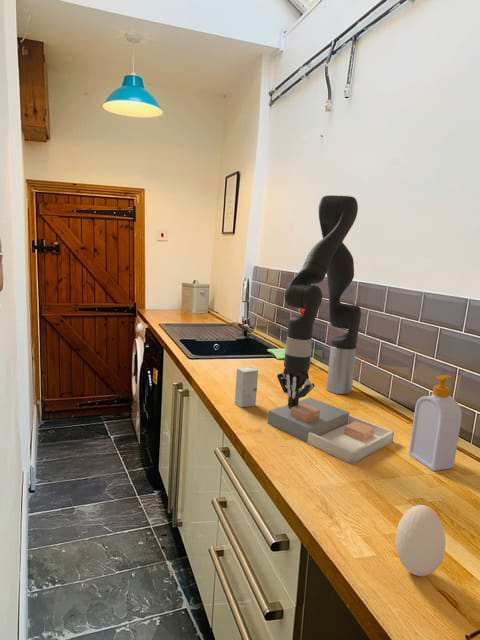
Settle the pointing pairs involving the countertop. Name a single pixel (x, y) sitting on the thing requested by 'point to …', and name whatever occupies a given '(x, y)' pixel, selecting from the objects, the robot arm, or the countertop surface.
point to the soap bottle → (436, 428)
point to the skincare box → (246, 387)
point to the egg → (420, 540)
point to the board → (326, 423)
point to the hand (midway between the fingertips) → (292, 408)
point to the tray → (351, 442)
